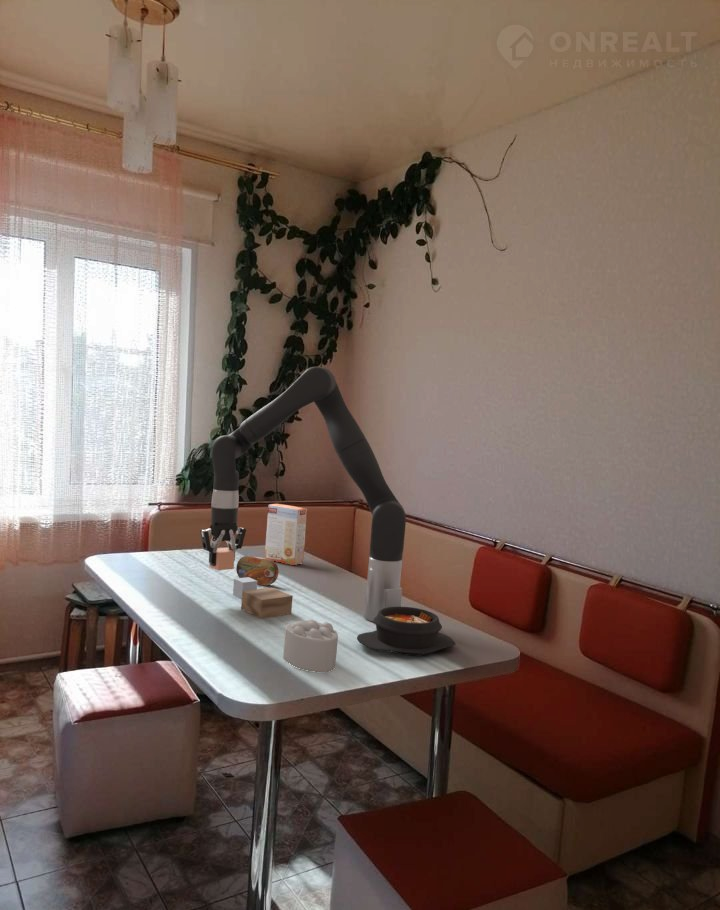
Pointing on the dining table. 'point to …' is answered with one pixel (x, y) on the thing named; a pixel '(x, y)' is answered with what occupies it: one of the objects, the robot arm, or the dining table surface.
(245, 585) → the grey-blue cube
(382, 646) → the casserole
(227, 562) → the terracotta cube
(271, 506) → the cracker box
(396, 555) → the robot arm
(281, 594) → the walnut block
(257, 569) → the tin
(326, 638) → the lumpy-topped squat cylinder
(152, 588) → the dining table surface
